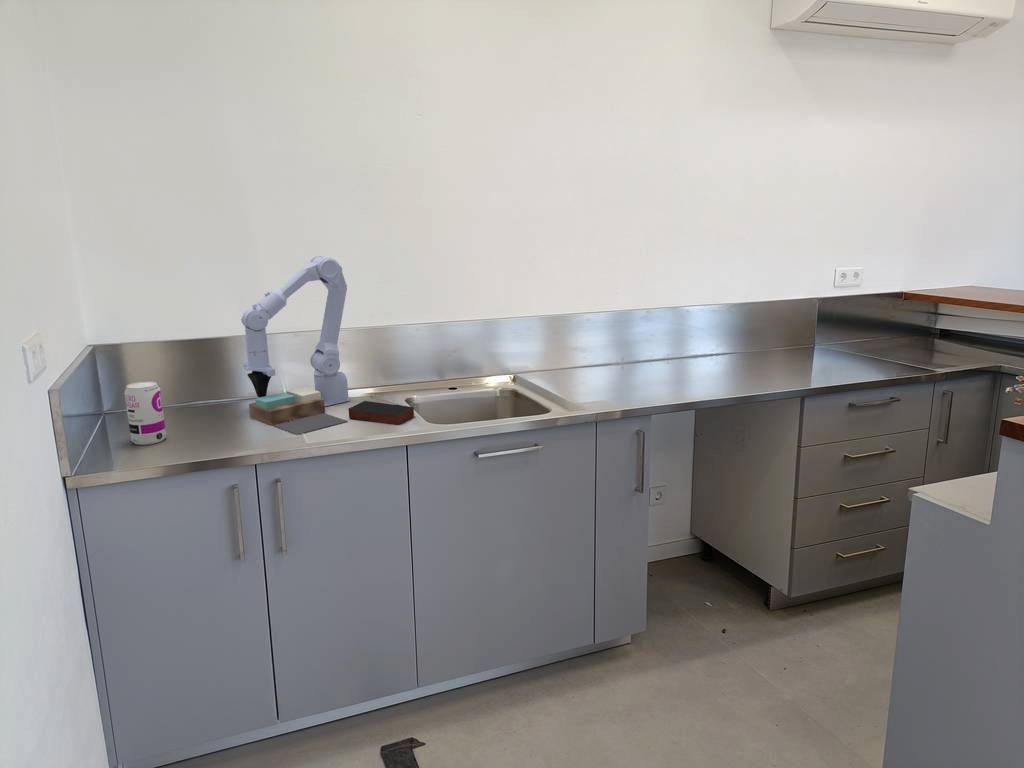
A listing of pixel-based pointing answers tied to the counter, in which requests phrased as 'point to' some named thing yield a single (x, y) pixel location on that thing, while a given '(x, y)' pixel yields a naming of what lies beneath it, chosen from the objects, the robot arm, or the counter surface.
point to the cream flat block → (304, 394)
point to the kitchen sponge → (381, 412)
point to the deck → (287, 411)
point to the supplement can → (145, 413)
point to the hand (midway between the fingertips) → (261, 396)
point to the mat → (310, 423)
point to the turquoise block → (275, 400)
